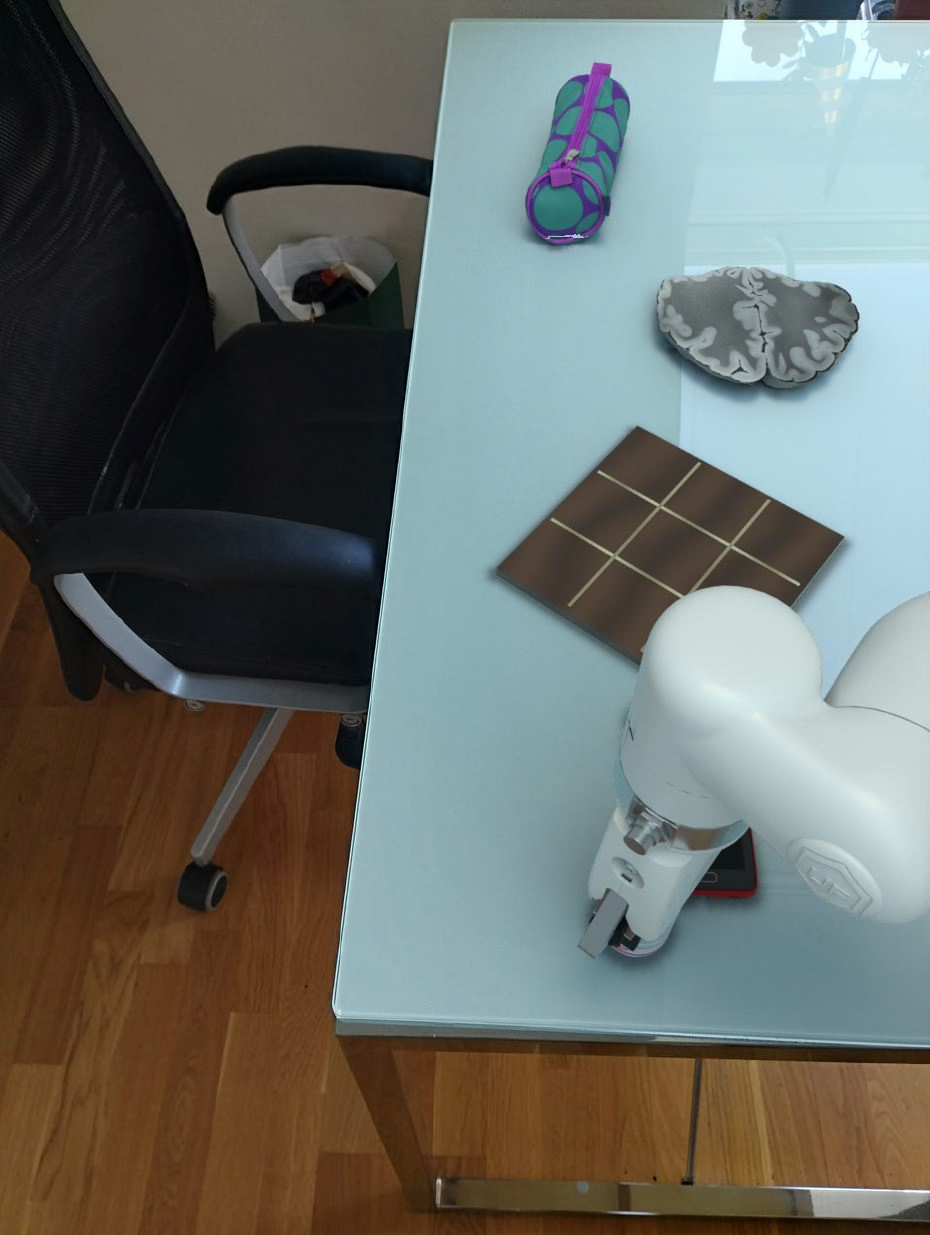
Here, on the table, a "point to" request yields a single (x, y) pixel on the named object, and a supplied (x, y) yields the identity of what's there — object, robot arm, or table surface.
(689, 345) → the brain slice
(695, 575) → the grid board
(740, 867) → the cell phone
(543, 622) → the table surface
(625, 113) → the pencil case
